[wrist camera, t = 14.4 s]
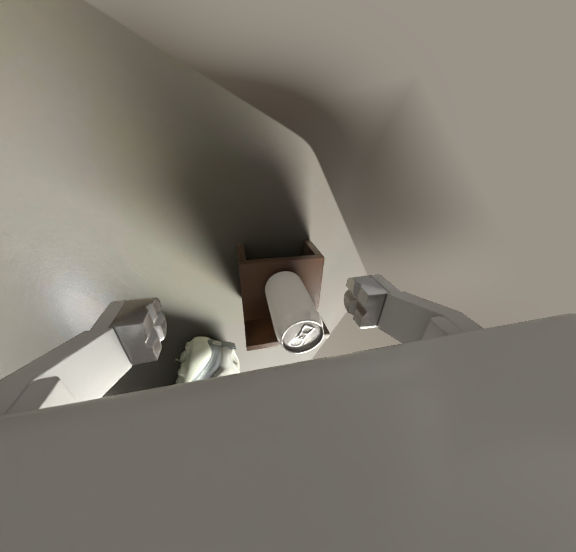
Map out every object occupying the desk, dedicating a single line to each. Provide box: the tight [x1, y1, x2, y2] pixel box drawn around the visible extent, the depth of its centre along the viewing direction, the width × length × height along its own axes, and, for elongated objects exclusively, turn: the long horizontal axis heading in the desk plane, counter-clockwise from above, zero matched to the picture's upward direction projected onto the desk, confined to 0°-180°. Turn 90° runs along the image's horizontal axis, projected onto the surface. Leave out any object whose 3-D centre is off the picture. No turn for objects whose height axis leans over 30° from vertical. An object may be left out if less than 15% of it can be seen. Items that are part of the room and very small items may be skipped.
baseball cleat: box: [175, 337, 240, 384], centre depth 52 cm, size 10×29×15 cm
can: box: [265, 271, 324, 353], centre depth 33 cm, size 6×6×12 cm
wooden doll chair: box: [237, 240, 330, 351], centre depth 39 cm, size 14×12×14 cm
